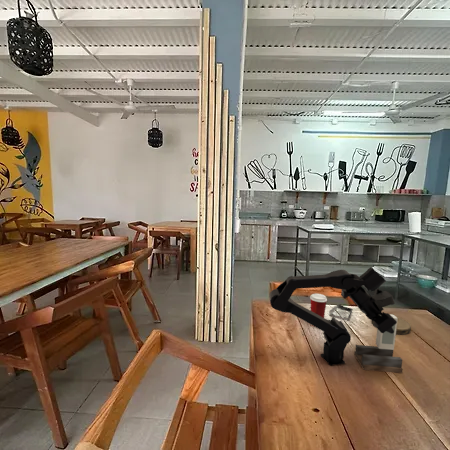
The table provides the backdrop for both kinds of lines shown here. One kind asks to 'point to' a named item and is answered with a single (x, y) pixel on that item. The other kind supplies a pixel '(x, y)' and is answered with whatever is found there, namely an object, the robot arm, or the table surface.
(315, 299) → the paper cup
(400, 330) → the brown round disc
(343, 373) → the table surface
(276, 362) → the table surface
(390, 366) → the display ledge
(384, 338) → the cream slab
